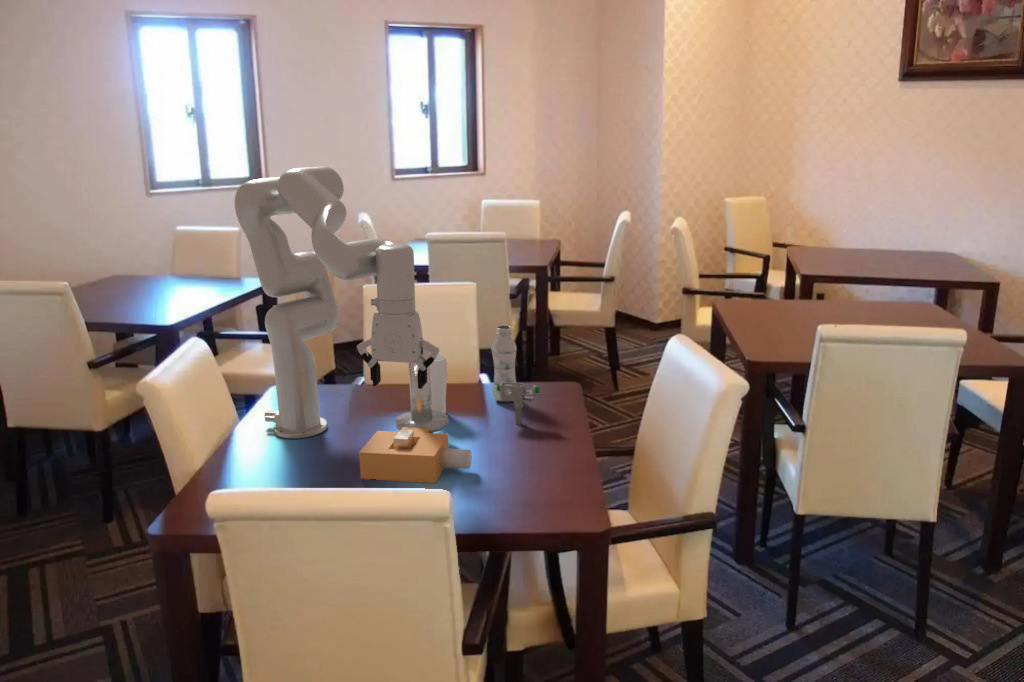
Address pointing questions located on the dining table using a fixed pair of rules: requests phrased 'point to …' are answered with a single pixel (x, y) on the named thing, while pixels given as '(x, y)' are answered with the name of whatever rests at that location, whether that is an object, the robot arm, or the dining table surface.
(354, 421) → the dining table surface
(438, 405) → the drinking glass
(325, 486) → the dining table surface
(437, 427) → the post
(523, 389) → the mechanical component
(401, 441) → the white block
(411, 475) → the bracket head
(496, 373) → the plastic bottle
